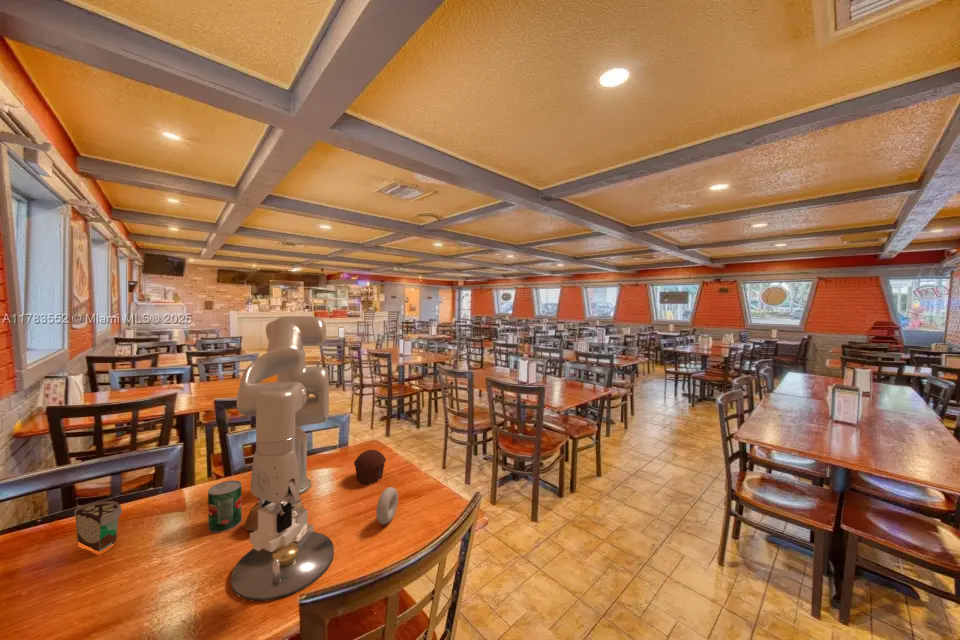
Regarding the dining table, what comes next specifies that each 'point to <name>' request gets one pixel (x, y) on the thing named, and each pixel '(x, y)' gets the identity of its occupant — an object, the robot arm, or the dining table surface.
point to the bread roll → (253, 516)
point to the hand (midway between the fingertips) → (275, 524)
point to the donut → (387, 505)
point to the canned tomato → (224, 506)
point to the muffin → (369, 466)
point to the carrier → (284, 565)
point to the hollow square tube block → (272, 530)
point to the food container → (97, 524)
